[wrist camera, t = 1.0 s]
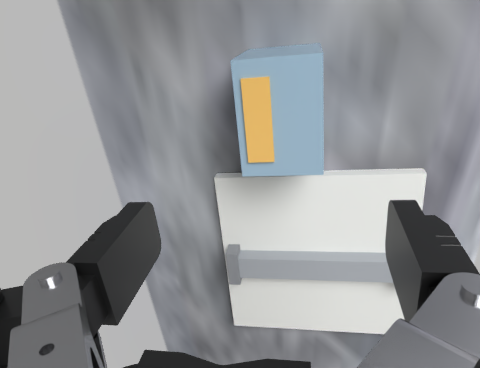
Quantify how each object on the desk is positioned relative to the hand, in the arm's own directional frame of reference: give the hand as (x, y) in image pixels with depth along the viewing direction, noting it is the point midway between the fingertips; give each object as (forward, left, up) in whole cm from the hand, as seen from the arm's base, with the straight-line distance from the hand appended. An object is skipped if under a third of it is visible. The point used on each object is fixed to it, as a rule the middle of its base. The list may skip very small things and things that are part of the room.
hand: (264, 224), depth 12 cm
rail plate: (+13, +2, -17) cm, 21 cm away
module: (-1, 0, -17) cm, 17 cm away
